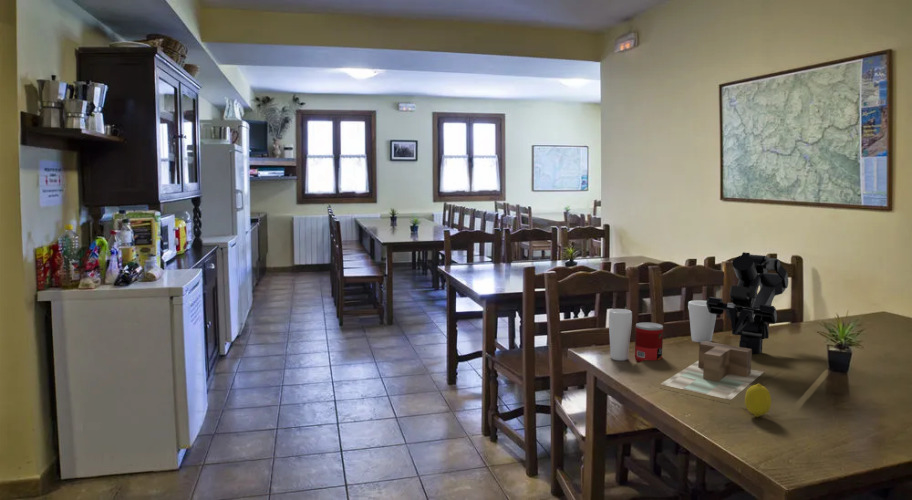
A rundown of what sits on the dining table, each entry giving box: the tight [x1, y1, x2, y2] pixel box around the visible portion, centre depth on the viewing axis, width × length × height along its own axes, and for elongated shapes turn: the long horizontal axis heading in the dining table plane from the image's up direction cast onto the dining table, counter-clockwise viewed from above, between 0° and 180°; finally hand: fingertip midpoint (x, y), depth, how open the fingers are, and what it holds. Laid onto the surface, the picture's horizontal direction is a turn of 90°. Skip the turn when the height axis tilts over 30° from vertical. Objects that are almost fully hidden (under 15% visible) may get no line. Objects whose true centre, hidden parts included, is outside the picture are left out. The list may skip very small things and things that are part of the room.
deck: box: [659, 359, 765, 405], centre depth 171 cm, size 29×18×1 cm, turn 139°
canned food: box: [634, 322, 664, 363], centre depth 191 cm, size 8×8×11 cm
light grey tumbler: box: [608, 308, 633, 362], centre depth 192 cm, size 7×7×15 cm
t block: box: [698, 341, 753, 382], centre depth 174 cm, size 13×13×7 cm
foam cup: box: [687, 299, 717, 344], centre depth 214 cm, size 10×9×13 cm
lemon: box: [744, 383, 772, 418], centre depth 146 cm, size 6×6×8 cm
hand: (733, 334), depth 182 cm, fingers closed
